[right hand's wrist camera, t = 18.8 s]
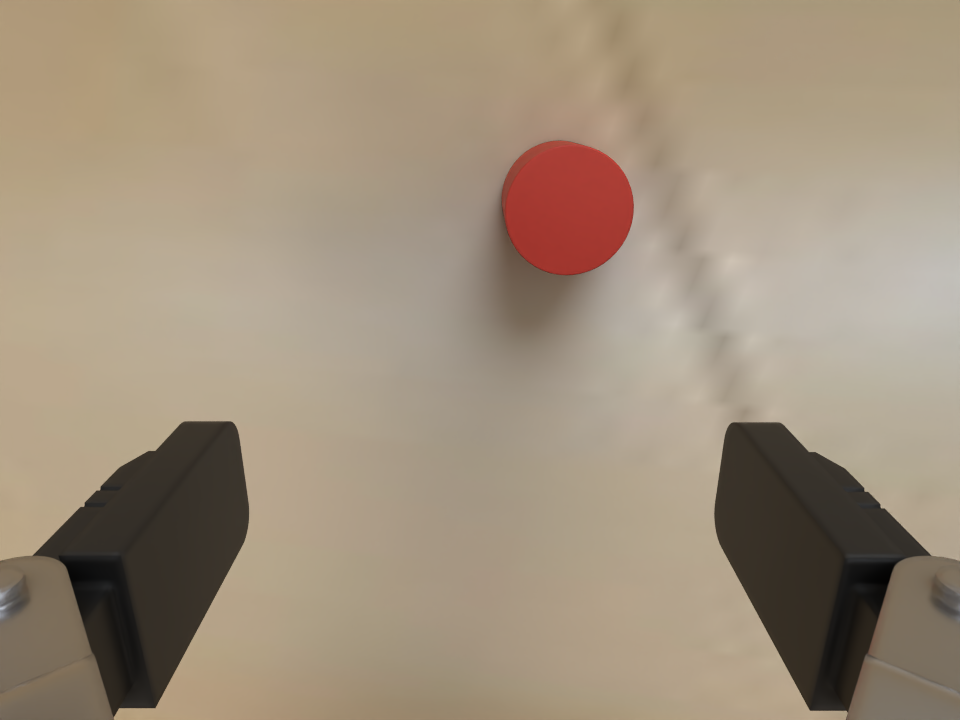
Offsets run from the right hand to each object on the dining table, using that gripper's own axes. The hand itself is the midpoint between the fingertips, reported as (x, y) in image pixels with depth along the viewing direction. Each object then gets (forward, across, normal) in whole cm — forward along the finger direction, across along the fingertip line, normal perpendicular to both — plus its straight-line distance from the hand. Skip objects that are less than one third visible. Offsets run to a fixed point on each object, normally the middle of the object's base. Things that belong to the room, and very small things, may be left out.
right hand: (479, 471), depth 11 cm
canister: (+18, -3, -2) cm, 18 cm away
